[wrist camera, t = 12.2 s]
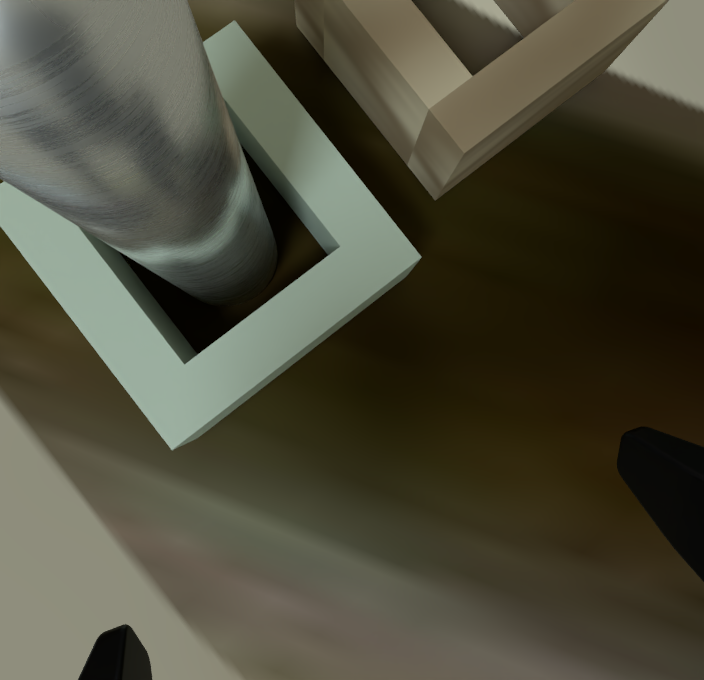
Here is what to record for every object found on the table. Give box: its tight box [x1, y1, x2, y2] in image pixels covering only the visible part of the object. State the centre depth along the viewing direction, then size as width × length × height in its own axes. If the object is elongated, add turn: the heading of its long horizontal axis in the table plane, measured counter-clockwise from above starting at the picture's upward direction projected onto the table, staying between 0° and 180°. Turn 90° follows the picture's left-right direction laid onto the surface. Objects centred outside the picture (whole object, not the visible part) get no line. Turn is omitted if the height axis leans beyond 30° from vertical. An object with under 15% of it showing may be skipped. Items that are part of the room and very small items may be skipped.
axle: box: [0, 0, 278, 307], centre depth 12 cm, size 4×4×14 cm
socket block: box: [0, 20, 421, 450], centre depth 17 cm, size 9×9×3 cm
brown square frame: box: [294, 0, 669, 200], centre depth 18 cm, size 8×8×4 cm
